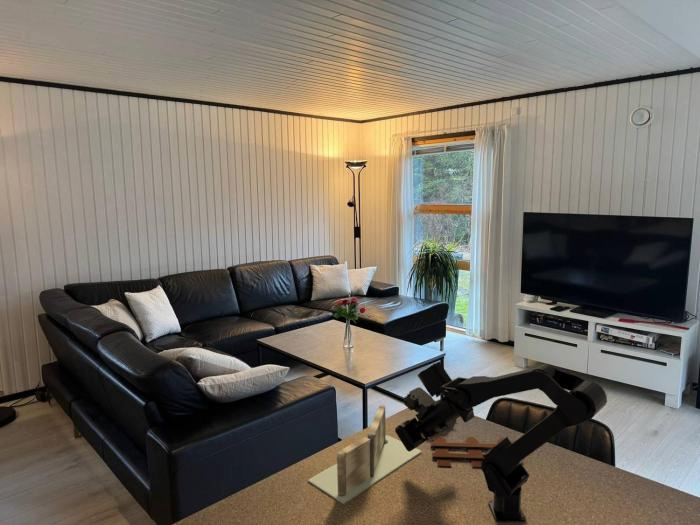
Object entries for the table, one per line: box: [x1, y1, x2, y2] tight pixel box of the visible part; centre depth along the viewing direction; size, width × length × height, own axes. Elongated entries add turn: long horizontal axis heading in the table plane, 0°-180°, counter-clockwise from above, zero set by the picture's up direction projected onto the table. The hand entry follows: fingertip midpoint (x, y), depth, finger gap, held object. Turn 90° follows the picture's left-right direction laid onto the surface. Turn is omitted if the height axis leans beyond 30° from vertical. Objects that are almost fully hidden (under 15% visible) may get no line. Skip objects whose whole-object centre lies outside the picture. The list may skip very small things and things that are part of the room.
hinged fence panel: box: [367, 404, 387, 471], centre depth 129 cm, size 16×2×10 cm, turn 166°
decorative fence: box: [430, 435, 505, 470], centre depth 131 cm, size 23×2×15 cm
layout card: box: [307, 434, 423, 505], centre depth 125 cm, size 30×12×1 cm, turn 135°
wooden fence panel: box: [336, 433, 374, 497], centre depth 116 cm, size 12×2×11 cm, turn 135°
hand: (408, 438), depth 125 cm, fingers closed
